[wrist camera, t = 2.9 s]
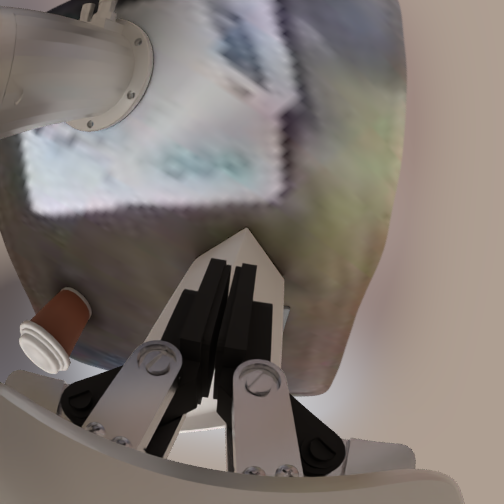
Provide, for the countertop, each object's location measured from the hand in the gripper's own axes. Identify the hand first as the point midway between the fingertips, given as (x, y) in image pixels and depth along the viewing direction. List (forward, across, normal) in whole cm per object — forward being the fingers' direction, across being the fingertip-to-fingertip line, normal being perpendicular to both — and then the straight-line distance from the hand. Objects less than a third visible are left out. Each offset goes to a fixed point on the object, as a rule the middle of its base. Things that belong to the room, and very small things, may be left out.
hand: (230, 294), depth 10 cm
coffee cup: (+17, +26, +22) cm, 38 cm away
